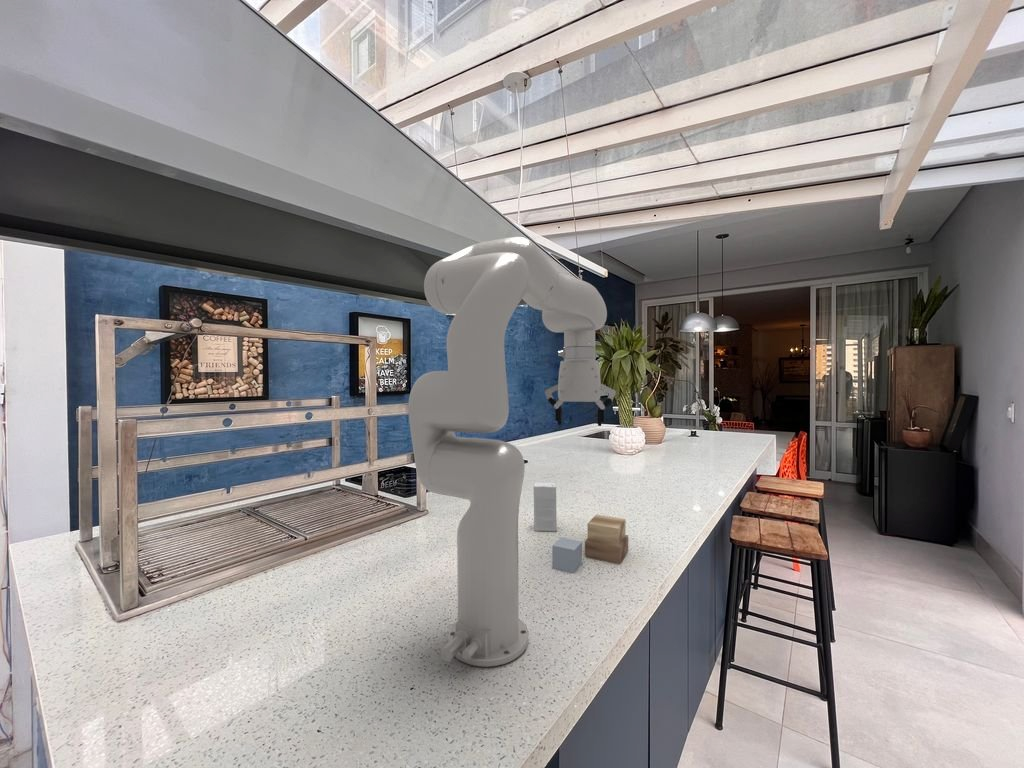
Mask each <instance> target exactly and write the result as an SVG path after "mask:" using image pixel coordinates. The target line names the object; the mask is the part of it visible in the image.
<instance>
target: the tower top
mask: <svg viewBox="0 0 1024 768" xmlns="http://www.w3.org/2000/svg"><path fill="white" fill-rule="evenodd" d="M626 521H627V519H626V518H622V517H616V516H615V517H614V516H609V515H603V514H602V515H601V514H597V513H596V514H595V515H594V516H593V517H592V518H591V519H590V521H588V522H587V538H588V541H591V542H596V543H601V544H607V545H612V546H617V547H618V546H619V545H620V543H621V542H622V540H623V539H624V537H625V535H626V527H627V526H626Z"/></svg>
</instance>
